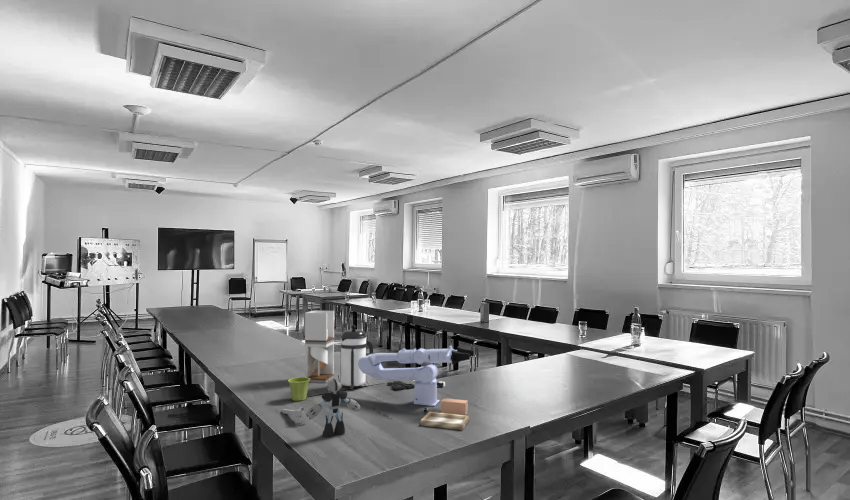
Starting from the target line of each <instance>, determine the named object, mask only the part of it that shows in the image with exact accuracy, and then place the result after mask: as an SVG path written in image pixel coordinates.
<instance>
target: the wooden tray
mask: <svg viewBox="0 0 850 500" xmlns="http://www.w3.org/2000/svg"><path fill="white" fill-rule="evenodd" d="M469 422H470V415H466V416H465V415H456V414H446V413H441V412H436V411H428V412H427V413H426V414H425V415H424V416H423V417H422V418H421V419H420V426H423V427H424V426H425V427H433V428H440V429H449V430H456V431H457V430H460V431H464V430H465V428H466V426H467V425H468V424H469Z"/></svg>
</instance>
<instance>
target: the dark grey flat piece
mask: <svg viewBox="0 0 850 500" xmlns="http://www.w3.org/2000/svg"><path fill="white" fill-rule="evenodd" d="M386 384H387V386H389V387H391V390H393V391H396V392H400V391H404V390H407V389H414V386H415V383H414V384H413V383H407V382H403V381H402V380H397V381H396V380H393V381H390V382H386ZM437 387H439V388H443V387H446V382H445V381H437Z"/></svg>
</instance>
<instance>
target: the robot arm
mask: <svg viewBox="0 0 850 500" xmlns="http://www.w3.org/2000/svg"><path fill="white" fill-rule="evenodd" d="M474 356H475V351H474V350H472V349H468V348H463V347H461V346H457V347H456V349H454V348H453V346H452V345H449V347H448V348H429V349H425V348H423V347H419V348H418V349H417V348H413V349H406V348H402V349H400V350H399V351H398V352H375V353H373V354H367V355H366V357H362V358H360V360H359V361H358V367H359V369H360V370H361V371H362V373H364V374H366V375H368V376H370V377H372V378H373V379H375V380H378V381H396V380H397V381H405V380H406V381H407V380H408V381H409V380H410V381H411V380H414V381H415V382H414V385H415V386H414V388H413V405H421V406H430V407H435V406H436V405H438V403H439V402H441V400H440V399H438V391H437V390H438V388H437V387H438V386H437V382H438V380H437V377H438V375H439V369H438V367H437V365H435V364H437V363H451V364H452V365H455V364H457V363H460V362H464V361H468V360H470V358H471V357H474ZM394 361H395V362H396V361H397V362H398V363H400V364H415V363H416V364H418V365H422V364H424V363H425V364H426V363H430V364H427V365H425V366H420V367H419V366H418V367H400V368H399V367H390V368H386V367H385V368H384V366H383V365H382V362H394ZM434 363H435V364H434Z"/></svg>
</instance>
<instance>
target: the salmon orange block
mask: <svg viewBox="0 0 850 500" xmlns="http://www.w3.org/2000/svg"><path fill="white" fill-rule="evenodd" d="M440 413H446V414H456V415H465V416H467V414H468V413H469V400H465V399H456V398H447V397H446V398H442V400H440Z"/></svg>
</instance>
